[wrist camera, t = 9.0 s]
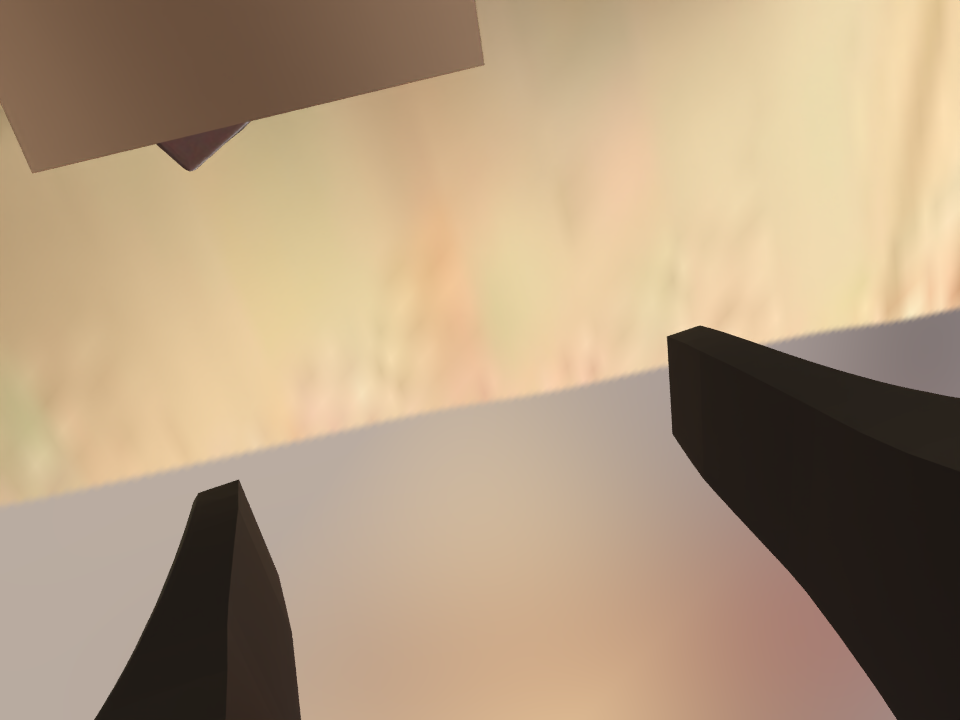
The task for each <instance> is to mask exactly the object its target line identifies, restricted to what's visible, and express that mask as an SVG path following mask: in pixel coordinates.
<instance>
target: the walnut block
mask: <svg viewBox="0 0 960 720" xmlns="http://www.w3.org/2000/svg"><path fill="white" fill-rule="evenodd" d="M482 65H484V59H483V52H482V45H481V38H480V32H479V25H478V18H477V11H476V4H475V0H0V102H1V105H2V107H3V109H4V111H5V114H6V116H7V118H8V120H9V122H10V125H11V127H12V129H13V131H14V134H15V136H16V138H17V140H18V142H19V145H20V147H21V149H22V151H23V154H24V156H25V158H26V160H27V162H28V165H29V167H30V169H31V171H32V173H36V172H41V171H45V170H49V169H53V168H57V167H61V166H66V165H70V164H74V163H78V162H82V161H86V160H91V159H95V158H99V157H103V156H107V155H111V154H116V153H120V152H124V151H128V150H132V149H136V148H141V147H145V146H149V145H153V144H157V143H161V142H166V141H170V140H174V139H178V138H182V137H186V136H191V135H195V134H199V133H203V132H207V131H211V130H215V129H220V128H224V127H228V126H232V125H236V124H240V123H245V122H249V121H253V120H257V119H261V118H265V117H270V116H274V115H278V114H282V113H286V112H290V111H295V110H299V109H303V108H307V107H311V106H315V105H320V104H324V103H328V102H332V101H336V100H340V99H345V98H349V97H353V96H357V95H361V94H365V93H370V92H374V91H378V90H382V89H386V88H390V87H395V86H399V85H403V84H407V83H411V82H415V81H420V80H424V79H428V78H432V77H436V76H440V75H445V74H449V73H453V72H457V71H461V70H465V69H470V68H474V67H478V66H482Z"/></svg>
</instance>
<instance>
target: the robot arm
mask: <svg viewBox="0 0 960 720" xmlns="http://www.w3.org/2000/svg"><path fill="white" fill-rule="evenodd" d="M667 344H668V362H669V379H670V397H671V413H672V432H673V435H674V437H675V438H676V440H677V441H678V443H679V444H680V445H681V447H682V449H683V450H684V452H685V453H686V455H687V456H688V458H689V459H690V461H691V462H692V463H693V465H694V466H695V467H696V469H697V470H698V472H699V473H700V475H701V476H702V477H703V479H704V480H705V481H706V482H707V483H708V484H709V486H710V487H711V488H712V489H713V490H714V491H715V492H716V493H717V494H718V496H719V497H720V498H721V499H722V500H723V501H724V502H725V503H726V504H727V505H728V507H729V508H730V509H731V510H732V511H733V512H734V513H735V514H736V515H737V516H738V517H739V518H740V519H741V521H742V522H743V523H744V524H745V525H746V526H747V527H748V528H749V529H750V530H751V531H752V532H753V533H754V534H755V536H756V537H757V538H758V539H759V540H760V541H761V542H762V543H763V544H764V545H765V546H766V547H767V548H768V549H769V551H771V553H772V554H773V555H774V556H775V557H776V558H777V559H778V560H779V561H780V562H781V563H782V564H783V565H784V567H785V568H786V569H787V570H788V571H789V572H790V573H791V574H792V576H793V577H794V578H795V579H796V580H797V581H798V583H799V584H800V585H801V586H802V587H803V588H804V589H805V591H806V592H807V593H808V595H809V596H810V597H811V599H812V600H813V601H814V603H815V604H816V605H817V607H818V608H819V609H820V611H821V612H822V613H823V615H824V616H825V617H826V619H827V620H828V621H829V623H830V624H831V625H832V627H833V628H834V629H835V631H836V632H837V633H838V635H839V636H840V637H841V639H842V640H843V642H844V643H845V645H846V646H847V647H848V649H849V650H850V652H851V653H852V654H853V656H854V657H855V659H856V660H857V661H858V663H859V664H860V666H861V667H862V668H863V670H864V671H865V673H866V674H867V676H868V677H869V678H870V680H871V681H872V683H873V684H874V686H875V687H876V688H877V690H878V691H879V693H880V694H881V696H882V697H883V699H884V701H885V702H886V704H887V705H888V707H889V708H890V710H891V711H892V713H893V714H894V716H895V717H896V719H897V720H960V398H955V397H949V396H944V395H939V394H934V393H929V392H924V391H919V390H914V389H909V388H905V387H900V386H896V385H891V384H887V383H883V382H879V381H875V380H872V379H868V378H865V377H861V376H857V375H854V374H850V373H846V372H843V371H839V370H836V369H833V368H830V367H826V366H823V365H820V364H816V363H813V362H810V361H807V360H804V359H801V358H798V357H795V356H792V355H789V354H786V353H783V352H780V351H777V350H774V349H771V348H768V347H766V346H763V345H760V344H757V343H754V342H751V341H748V340H745V339H742V338H739V337H736V336H733V335H730V334H727V333H724V332H721V331H718V330H714V329H711V328H707V327H704V326H697V327H694V328H691V329H688V330H685V331H682V332H679V333H676V334H673V335H670V336H667ZM94 720H301V716H300V706H299V696H298V686H297V676H296V667H295V657H294V648H293V639H292V631H291V627H290V623H289V618H288V613H287V609H286V605H285V601H284V597H283V592H282V588H281V583H280V579H279V575H278V573H277V570H276V568H275V565H274V563H273V561H272V558H271V556H270V553H269V551H268V549H267V546H266V544H265V541H264V539H263V537H262V534H261V532H260V529H259V527H258V525H257V522H256V520H255V517H254V515H253V513H252V510H251V508H250V505H249V503H248V501H247V498H246V496H245V493H244V491H243V489H242V486H241V484H240V481H239V480H236V481H233V482H230V483H227V484H225V485H221V486H218V487H215V488H212V489H209V490H206V491H203V492H201V493H198V495H197V497H196V498H195V500H194V502H193V505H192V509H191V512H190V515H189V518H188V521H187V525H186V528H185V531H184V534H183V536H182V540H181V542H180V545H179V548H178V551H177V553H176V556H175V559H174V561H173V564H172V566H171V569H170V571H169V574H168V576H167V579H166V581H165V584H164V586H163V589H162V591H161V594H160V596H159V598H158V601H157V603H156V606H155V608H154V610H153V612H152V614H151V616H150V618H149V620H148V622H147V624H146V627H145V629H144V631H143V633H142V635H141V637H140V639H139V641H138V644H137V645H136V648H135V650H134V651H133V654H132V655H131V657H130V659H129V661H128V663H127V665H126V667H125V669H124V671H123V672H122V674H121V676H120V678H119V679H118V681H117V683H116V685H115V687H114V688H113V690H112V692H111V693H110V695H109V697H108V698H107V700H106V702H105V703H104V705H103V707H102V708H101V710H100V711H99V713H98V715H97V716H96V718H95V719H94Z"/></svg>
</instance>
